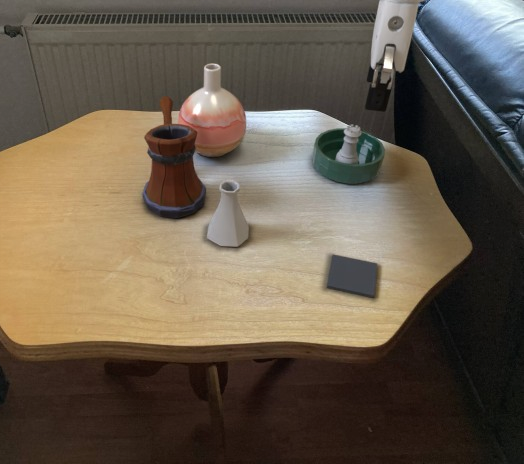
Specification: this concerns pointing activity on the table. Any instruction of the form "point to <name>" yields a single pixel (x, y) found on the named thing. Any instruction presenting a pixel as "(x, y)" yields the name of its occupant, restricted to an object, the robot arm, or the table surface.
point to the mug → (172, 168)
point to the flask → (228, 218)
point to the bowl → (364, 171)
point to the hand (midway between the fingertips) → (375, 95)
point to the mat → (352, 276)
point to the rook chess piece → (349, 146)
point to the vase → (214, 116)
